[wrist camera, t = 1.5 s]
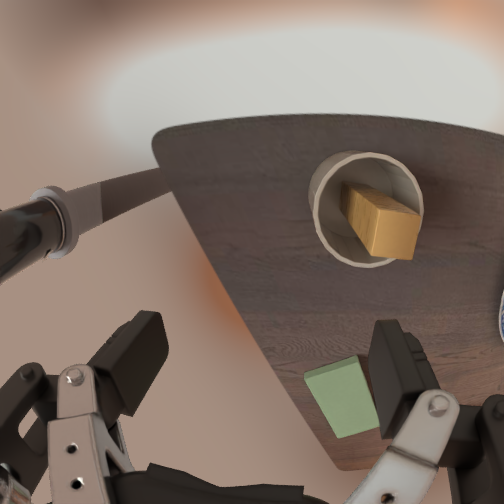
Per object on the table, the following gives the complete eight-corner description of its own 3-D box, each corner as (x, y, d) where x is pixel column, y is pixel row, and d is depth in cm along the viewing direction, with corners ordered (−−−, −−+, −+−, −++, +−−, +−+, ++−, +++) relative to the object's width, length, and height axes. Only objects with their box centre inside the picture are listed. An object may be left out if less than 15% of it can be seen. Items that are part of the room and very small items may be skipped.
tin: (303, 234, 32) (307, 261, 25) (312, 145, 29) (319, 144, 21) (386, 243, 31) (410, 272, 24) (399, 158, 28) (430, 164, 20)
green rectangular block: (304, 372, 39) (304, 379, 38) (357, 354, 37) (358, 361, 36) (337, 432, 44) (337, 438, 42) (379, 419, 42) (380, 425, 40)
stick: (338, 208, 30) (370, 256, 17) (341, 180, 29) (379, 209, 16) (364, 211, 30) (412, 260, 17) (368, 184, 29) (421, 215, 16)
